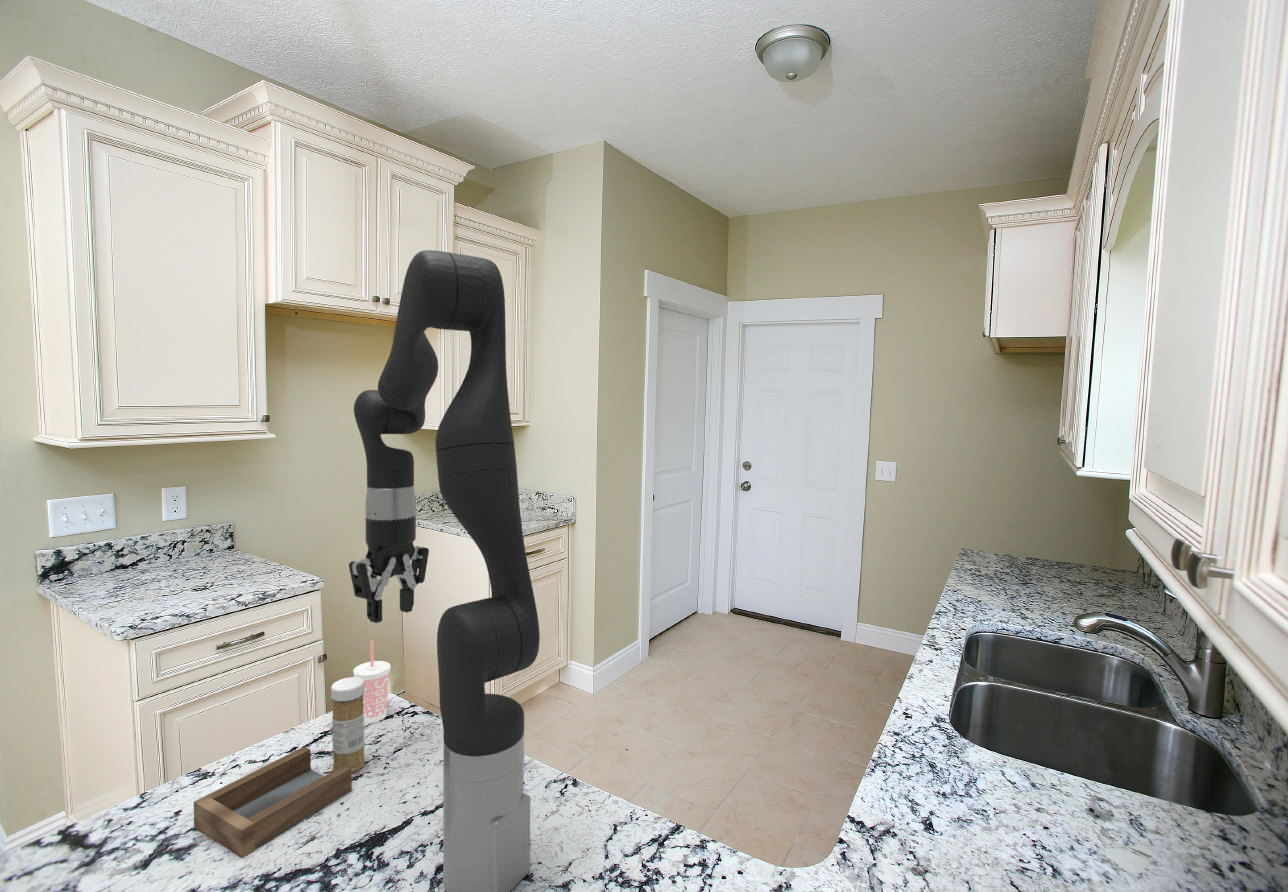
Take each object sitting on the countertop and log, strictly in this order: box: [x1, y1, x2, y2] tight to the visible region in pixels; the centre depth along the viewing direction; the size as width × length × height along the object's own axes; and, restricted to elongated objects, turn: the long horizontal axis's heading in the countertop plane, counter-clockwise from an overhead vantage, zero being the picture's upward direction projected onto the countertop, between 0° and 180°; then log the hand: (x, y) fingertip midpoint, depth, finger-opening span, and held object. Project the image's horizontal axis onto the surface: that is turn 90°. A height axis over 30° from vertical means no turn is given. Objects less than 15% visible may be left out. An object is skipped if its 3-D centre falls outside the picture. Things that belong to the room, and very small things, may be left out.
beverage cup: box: [353, 639, 392, 724], centre depth 107 cm, size 6×6×14 cm
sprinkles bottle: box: [330, 676, 366, 774], centre depth 92 cm, size 5×5×14 cm
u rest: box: [193, 746, 353, 859], centre depth 83 cm, size 11×15×4 cm
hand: (391, 615), depth 98 cm, fingers open, 5 cm apart
